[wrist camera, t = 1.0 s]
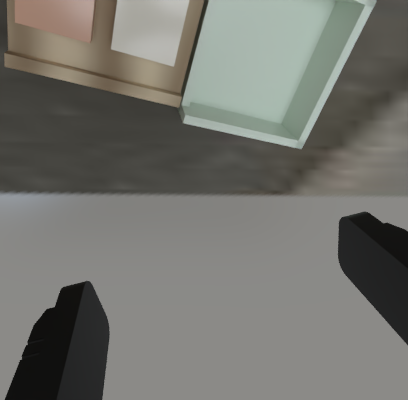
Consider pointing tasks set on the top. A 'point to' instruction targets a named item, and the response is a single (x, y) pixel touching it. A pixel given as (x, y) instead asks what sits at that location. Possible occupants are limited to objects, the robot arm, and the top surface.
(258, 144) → the top surface
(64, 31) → the tile
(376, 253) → the robot arm
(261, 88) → the tray
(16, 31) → the beige shallow box
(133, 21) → the tile
